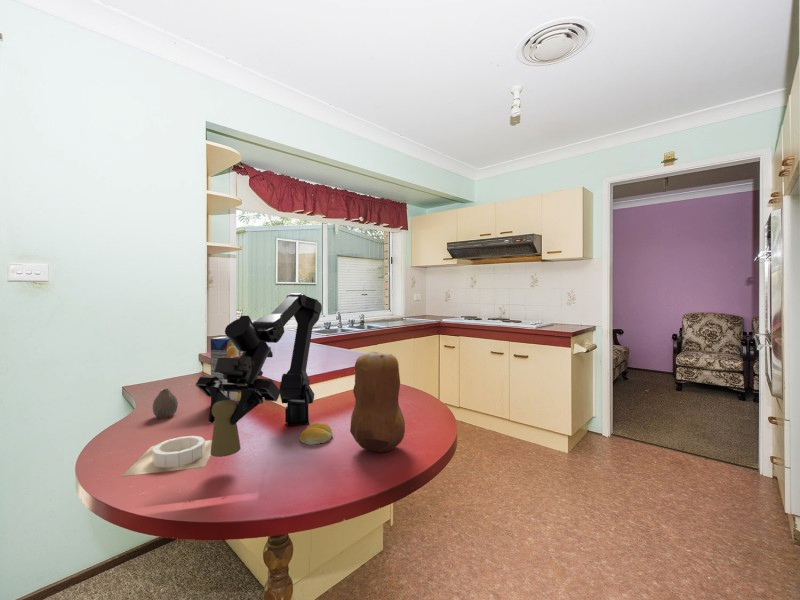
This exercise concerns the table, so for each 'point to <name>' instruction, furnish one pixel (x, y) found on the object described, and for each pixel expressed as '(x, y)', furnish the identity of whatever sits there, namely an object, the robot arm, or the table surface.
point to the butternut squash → (377, 403)
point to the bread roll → (316, 434)
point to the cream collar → (178, 451)
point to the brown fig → (165, 404)
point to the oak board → (147, 466)
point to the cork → (224, 429)
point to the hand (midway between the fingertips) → (220, 423)
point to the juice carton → (224, 349)
